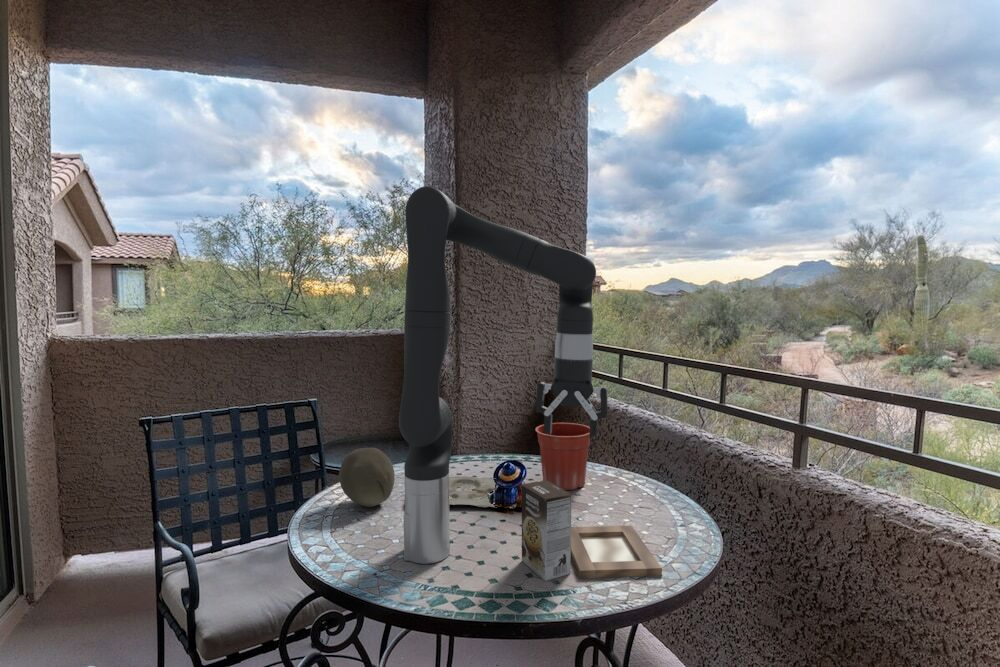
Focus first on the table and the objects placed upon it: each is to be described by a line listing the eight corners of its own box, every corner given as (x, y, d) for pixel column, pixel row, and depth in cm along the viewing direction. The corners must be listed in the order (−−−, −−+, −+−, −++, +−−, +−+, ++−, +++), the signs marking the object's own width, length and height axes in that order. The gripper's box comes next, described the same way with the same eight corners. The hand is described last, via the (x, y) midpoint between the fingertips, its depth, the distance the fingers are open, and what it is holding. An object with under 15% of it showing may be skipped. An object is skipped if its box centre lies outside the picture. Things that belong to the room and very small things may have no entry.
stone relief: (527, 513, 131) (525, 483, 151) (527, 502, 131) (525, 473, 150) (400, 512, 132) (415, 483, 151) (400, 502, 131) (414, 474, 151)
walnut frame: (579, 578, 99) (580, 570, 99) (562, 533, 118) (562, 527, 118) (661, 575, 100) (661, 568, 100) (631, 531, 119) (631, 525, 119)
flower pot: (523, 481, 152) (523, 427, 151) (563, 470, 162) (564, 419, 161) (563, 498, 139) (563, 439, 138) (604, 485, 149) (604, 430, 148)
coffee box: (520, 561, 106) (520, 483, 105) (546, 553, 109) (546, 478, 108) (544, 582, 98) (544, 499, 97) (572, 573, 101) (572, 492, 100)
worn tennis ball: (397, 493, 143) (396, 440, 142) (392, 514, 129) (391, 455, 128) (344, 496, 141) (343, 442, 140) (334, 517, 127) (332, 458, 126)
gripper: (535, 355, 101) (532, 437, 102) (609, 360, 98) (605, 444, 99) (541, 352, 108) (538, 428, 110) (610, 356, 105) (607, 434, 106)
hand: (570, 435), depth 104 cm, fingers open, 8 cm apart
